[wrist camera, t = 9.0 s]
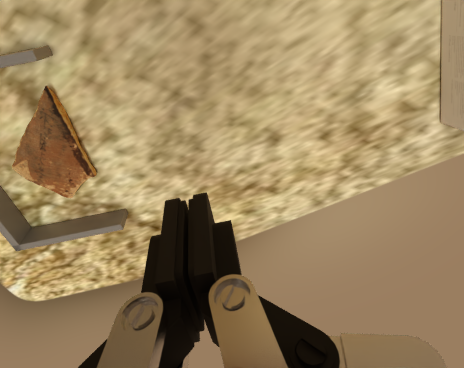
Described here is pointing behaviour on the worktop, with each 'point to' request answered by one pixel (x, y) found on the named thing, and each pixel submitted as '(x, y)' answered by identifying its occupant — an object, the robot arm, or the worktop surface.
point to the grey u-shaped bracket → (24, 237)
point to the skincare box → (452, 64)
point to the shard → (52, 150)
